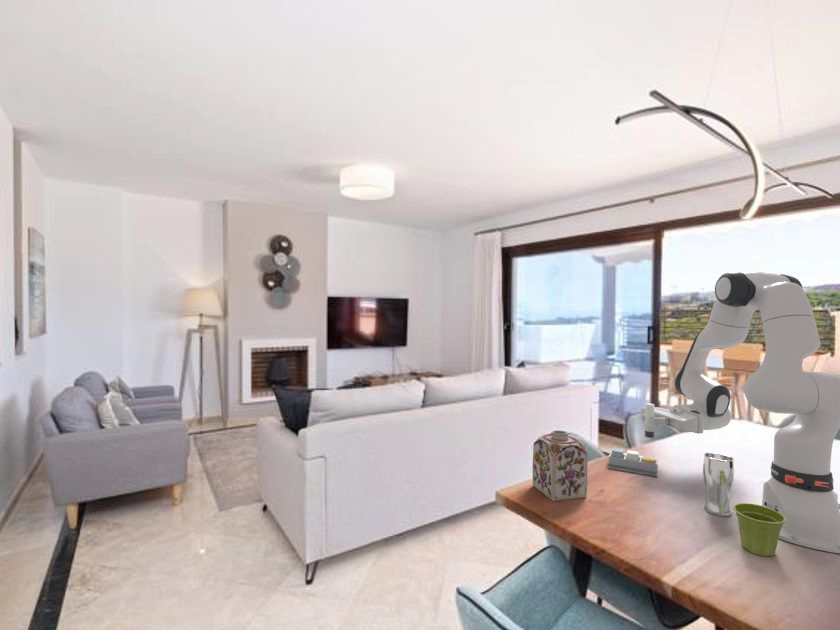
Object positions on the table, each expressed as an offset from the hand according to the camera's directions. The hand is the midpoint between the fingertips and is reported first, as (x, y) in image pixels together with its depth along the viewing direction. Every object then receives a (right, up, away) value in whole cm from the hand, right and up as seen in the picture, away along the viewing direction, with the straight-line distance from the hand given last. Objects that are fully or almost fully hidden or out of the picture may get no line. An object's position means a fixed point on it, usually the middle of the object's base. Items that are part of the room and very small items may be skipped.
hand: (647, 419), depth 147 cm
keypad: (-3, -17, +3) cm, 18 cm away
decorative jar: (-36, -18, -18) cm, 44 cm away
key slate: (-8, -15, +5) cm, 18 cm away
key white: (-3, -15, +3) cm, 16 cm away
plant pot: (0, -19, -48) cm, 52 cm away
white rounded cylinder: (+1, -6, 0) cm, 6 cm away
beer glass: (+4, -18, -30) cm, 35 cm away
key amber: (+1, -17, +1) cm, 17 cm away
